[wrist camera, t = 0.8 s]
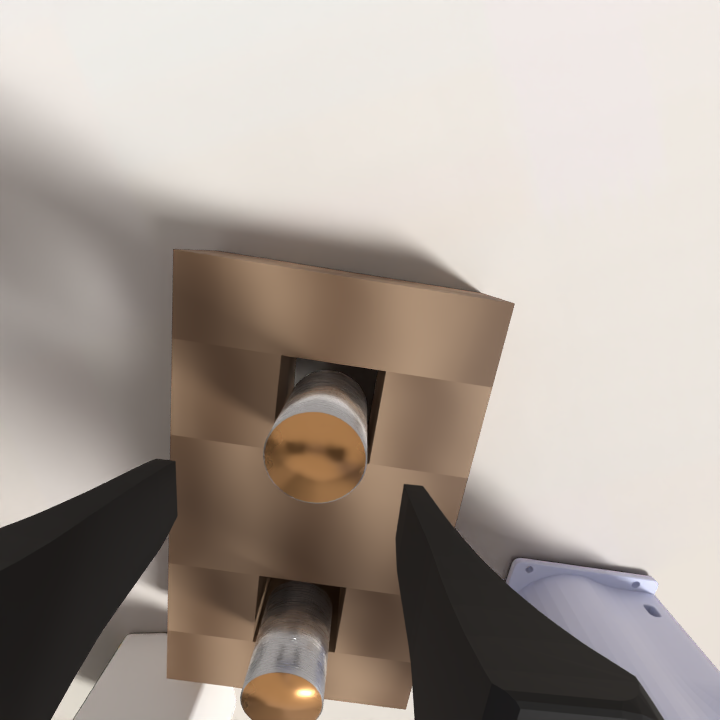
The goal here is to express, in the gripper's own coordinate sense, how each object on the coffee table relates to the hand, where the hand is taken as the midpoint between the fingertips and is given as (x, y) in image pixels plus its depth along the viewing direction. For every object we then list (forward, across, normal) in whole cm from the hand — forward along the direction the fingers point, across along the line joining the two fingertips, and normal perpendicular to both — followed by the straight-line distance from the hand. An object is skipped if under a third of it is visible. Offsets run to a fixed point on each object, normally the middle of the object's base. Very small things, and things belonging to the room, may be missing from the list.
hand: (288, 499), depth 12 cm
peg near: (+6, -1, -1) cm, 6 cm away
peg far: (+6, 0, +11) cm, 13 cm away
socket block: (+10, 0, +5) cm, 11 cm away
